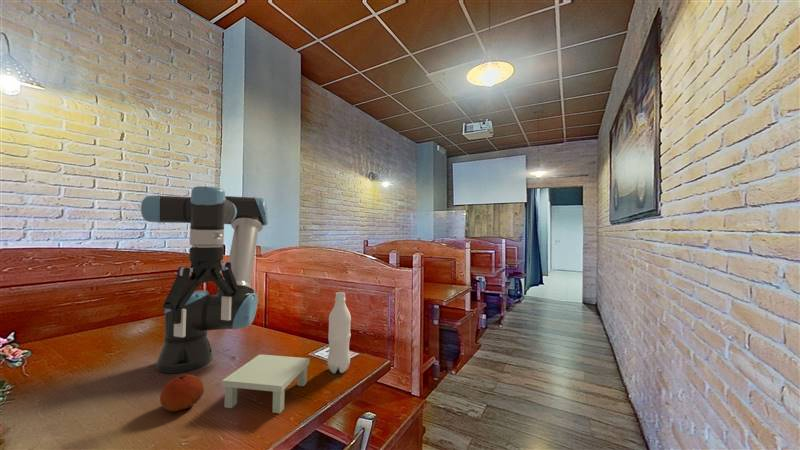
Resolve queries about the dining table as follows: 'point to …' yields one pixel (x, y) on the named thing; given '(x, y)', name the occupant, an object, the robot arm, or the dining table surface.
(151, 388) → the dining table surface
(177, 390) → the fruit
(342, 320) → the water bottle
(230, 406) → the small white table
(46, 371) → the dining table surface
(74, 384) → the dining table surface
